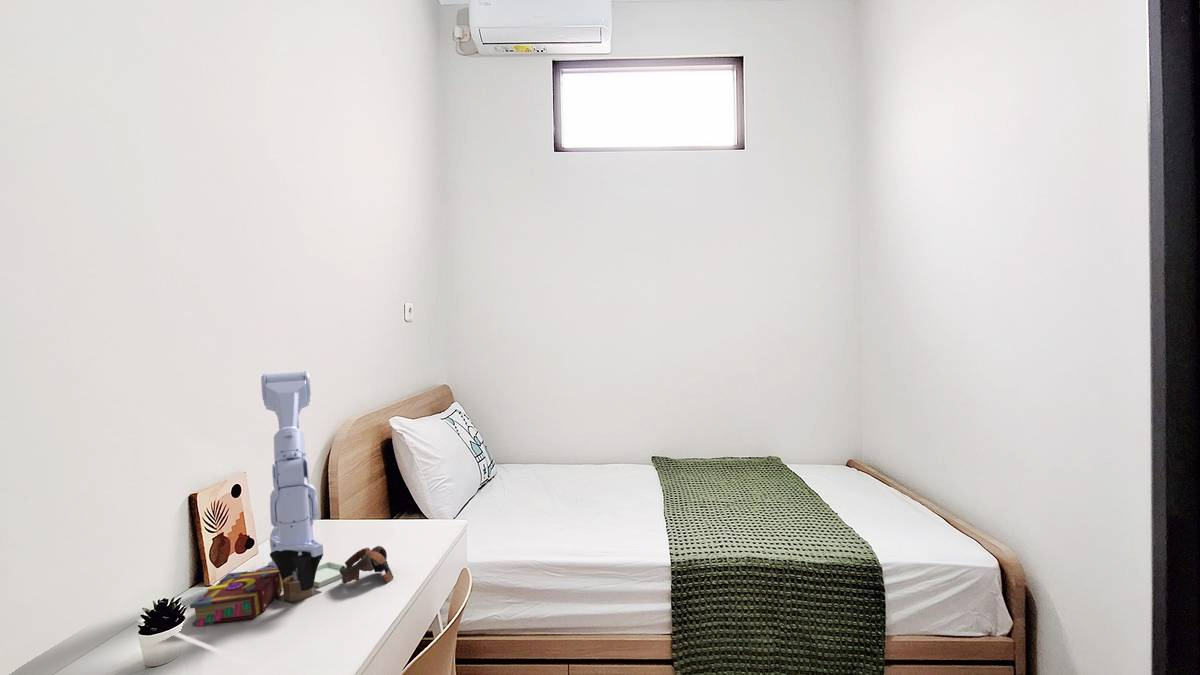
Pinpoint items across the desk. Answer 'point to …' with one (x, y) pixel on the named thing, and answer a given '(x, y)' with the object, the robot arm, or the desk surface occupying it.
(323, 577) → the tray
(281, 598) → the grey peg stand
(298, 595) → the collar
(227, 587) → the decorative book
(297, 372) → the robot arm
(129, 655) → the desk surface
